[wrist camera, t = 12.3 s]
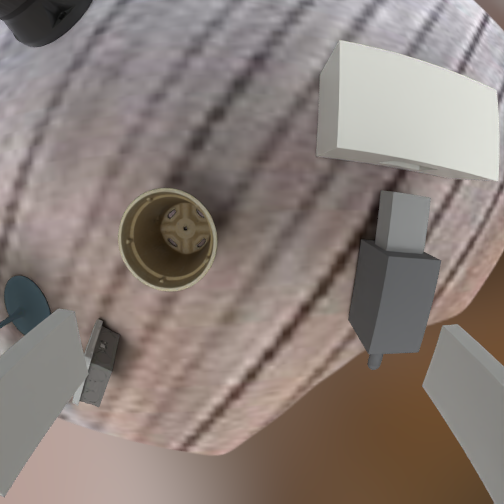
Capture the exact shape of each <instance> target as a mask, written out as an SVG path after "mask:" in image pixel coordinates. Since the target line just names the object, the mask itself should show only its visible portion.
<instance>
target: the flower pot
mask: <svg viewBox="0 0 504 504" xmlns="http://www.w3.org/2000/svg"><path fill="white" fill-rule="evenodd" d="M173 210H175V211H176V213H175V214H174V215H173V216H172V217H171V218H168V214H169V213H170V212H172V211H173ZM197 210H199V211H200V212H201V213H202V214H203V218H202V216H200V215H199V214H198V212H197ZM184 227H187V230H184ZM169 238H171V239H172V240H173V242H174V243H176V244H177V246H174V245H172V244H171V243H170V242H169V241H168V239H169ZM203 239H205V240H206V241H205V243H204V244H203V245H202V246H201V247H197V245H198V244H199V243H200V242H201V241H202V240H203ZM118 244H119V250H120V253H121V256H122V259H123V261H124V263H125V264H126V266H127V268H128V269H129V271H130V272H131V273H132V274H133V275H134V276H135V277H136V278H137V279H138V280H139V281H141V282H142V283H144V284H145V285H147V286H149V287H151V288H154V289H157V290H161V291H179V290H183V289H186V288H189V287H191V286H193V285H194V284H196V283H197V282H198V281H199V280H201V279H202V278H203V277H204V276H205V274H206V273H207V272H208V270H209V269H210V267H211V265H212V263H213V261H214V258H215V255H216V251H217V232H216V228H215V225H214V222H213V219H212V217H211V215H210V214H209V212H208V210H207V209H206V208H205V206H204V205H203V204H202V203H201V202H200V201H199V200H197V199H196V198H195V197H193V196H192V195H190V194H188V193H186V192H184V191H181V190H178V189H173V188H159V189H154V190H150V191H148V192H145V193H143V194H142V195H140V196H139V197H137V198H136V199H135V200H134V201H133V202H132V203H131V204H130V205H129V206H128V208H127V209H126V211H125V212H124V214H123V216H122V219H121V222H120V226H119V231H118Z"/></svg>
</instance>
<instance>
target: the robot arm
mask: <svg viewBox="0 0 504 504" xmlns="http://www.w3.org/2000/svg"><path fill="white" fill-rule="evenodd" d="M91 1H92V0H0V19H1V20H3V21H4V22H5V24H6V25H7V26H8V28H9V29H10V30H11V31H12V32H13V34H14V36H15V38H16V39H17V40H18V41H19V42H21V43H23V44H25V45H27V46H30V47H39V46H43V45H46V44H48V43H50V42H52V41H54V40H55V39H57V38H59V37H60V36H61V35H63V34H64V33H65V32H66V31H68V30H69V29H70V28H71V27H72V26H73V25H74V24H75V23H76V22H77V21H78V20H79V18H80V17H81V16H82V15H83V14H84V12H85V11H86V9H87V8H88V6H89V5H90V3H91ZM88 374H89V373H88V369H87V365H86V361H85V357H84V353H83V349H82V344H81V340H80V335H79V330H78V326H77V320H76V315H75V311H71V310H65V309H59V308H58V309H57V310H56V311H55V312H53V313H52V314H51V315H50V316H48V317H47V318H46V319H45V320H43V321H42V322H41V323H40V324H38V325H37V326H36V327H35V328H33V329H32V330H31V331H30V332H28V333H27V334H26V335H25V336H24V337H22V338H21V339H20V340H19V341H18V342H16V343H15V344H14V345H13V346H12V347H11V348H9V349H8V350H7V351H6V352H5V353H4V354H2V355H1V356H0V495H1V496H3V497H5V495H6V494H7V492H8V490H9V489H10V487H11V486H12V484H13V482H14V481H15V480H16V478H17V476H18V475H19V473H20V471H21V470H22V468H23V467H24V465H25V464H26V462H27V461H28V459H29V458H30V456H31V455H32V453H33V452H34V450H35V449H36V447H37V446H38V444H39V443H40V441H41V440H42V438H43V437H44V436H45V434H46V433H47V431H48V430H49V428H50V427H51V426H52V424H53V423H54V421H55V420H56V418H57V417H58V416H59V414H60V413H61V411H62V410H63V409H64V407H65V406H66V404H67V403H68V402H69V400H70V399H71V397H72V396H73V395H74V393H75V392H76V391H77V389H78V388H79V386H80V385H81V384H82V382H83V381H84V380H85V378H86V377H87V376H88ZM422 386H423V388H424V389H425V391H426V392H427V394H428V395H429V397H430V398H431V400H432V401H433V403H434V404H435V406H436V407H437V409H438V410H439V412H440V413H441V415H442V417H443V418H444V420H445V421H446V423H447V424H448V426H449V427H450V429H451V431H452V432H453V434H454V435H455V437H456V438H457V440H458V442H459V443H460V445H461V447H462V448H463V450H464V451H465V453H466V455H467V456H468V458H469V459H470V461H471V463H472V465H473V466H474V468H475V470H476V471H477V473H478V474H479V477H480V478H481V480H482V482H483V483H484V485H485V487H486V489H487V491H488V492H489V494H490V496H491V498H492V499H493V501H494V503H495V504H504V366H503V365H502V364H500V363H499V362H498V361H497V360H496V359H495V358H494V357H493V356H492V355H491V354H490V353H489V352H488V351H486V349H484V348H483V347H482V346H481V345H480V344H479V343H478V342H477V341H476V340H474V339H473V338H472V337H471V336H470V335H469V334H468V333H467V332H466V331H465V330H463V329H462V328H461V327H460V326H459V325H457V324H456V325H443V326H442V329H441V332H440V336H439V339H438V342H437V345H436V348H435V351H434V355H433V357H432V360H431V363H430V366H429V369H428V372H427V374H426V377H425V380H424V383H423V385H422Z"/></svg>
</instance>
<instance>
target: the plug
mask: <svg viewBox="0 0 504 504" xmlns="http://www.w3.org/2000/svg"><path fill="white" fill-rule="evenodd" d="M430 199H431V198H429V197H423V196H417V195H411V194H405V193H399V192H391V191H382V190H381V195H380V205H379V214H378V223H377V231H376V239H375V240H364V239H361V244H360V252H359V259H358V266H357V272H356V279H355V285H354V291H353V297H352V302H351V308H350V313H349V319H348V320H349V322H350V323H351V325H352V327H353V328H354V330H355V332H356V333H357V335H358V337H359V339H360V340H361V342H362V344H363V345H364V347H365V349H366V351H367V352H368V354H370V355H369V359H368V367H369V368H370V369H372V370H375V369H377V368H379V366H380V364H381V361H382V357H383V354H390V353H411V352H412V353H413V352H419V349H420V346H421V342H422V339H423V335H424V332H425V329H426V325H427V321H428V318H429V314H430V310H431V306H432V302H433V297H434V293H435V289H436V284H437V279H438V275H439V270H440V264H441V260H439V259H437V258H435V257H433V256H431V255H429V254H427V253H425V252H424V246H425V240H426V233H427V225H428V218H429V209H430Z"/></svg>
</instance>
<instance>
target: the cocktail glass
mask: <svg viewBox="0 0 504 504" xmlns="http://www.w3.org/2000/svg"><path fill="white" fill-rule="evenodd" d="M4 298H5V305H6V309H7V312H8V314H9V317H7V318H6V319H5V320H3V321H2V322H0V328H2V327H3V326H5V325H6V324H8V323H10V322H11V321H12V322H13V323H14V325H15V326H16V327H17V329H18V330H19V331H20V332H21V333H23V334H24V335H26V334H27V333H28V332H30V331H31V330H32V329H33V328H35V327H36V326H37V325H38V324H40V323H41V322H42V321H43V320H45V319H46V318H47V317H48V316H50V315H51V313H50V309H49V306H48V303H47V301H46V298H45V297H44V295H43V293H42V292H41V290H40V289H39V288H38V286H37V285H36V284H35V283H34V282H33V281H31V280H30V279H28V278H26V277H24V276H14V277H12V278H11V279H10V280H9V281H8V283H7V284H6V287H5V292H4Z"/></svg>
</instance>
